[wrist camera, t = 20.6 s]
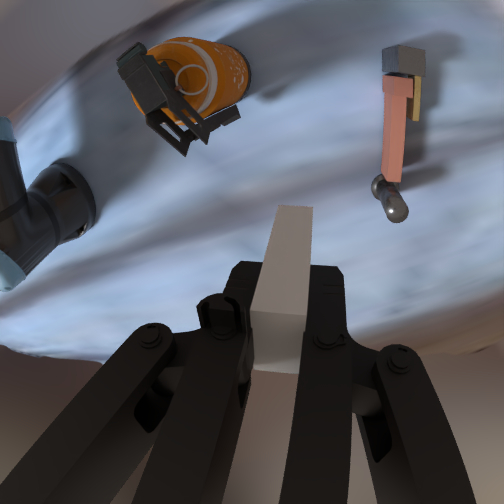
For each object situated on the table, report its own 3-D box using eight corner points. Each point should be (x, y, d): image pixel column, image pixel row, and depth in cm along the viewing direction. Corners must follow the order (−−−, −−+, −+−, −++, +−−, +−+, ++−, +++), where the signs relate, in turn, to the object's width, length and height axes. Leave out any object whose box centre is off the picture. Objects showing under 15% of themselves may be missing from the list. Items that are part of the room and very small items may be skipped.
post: (369, 199, 41) (379, 226, 34) (372, 172, 39) (384, 195, 32) (396, 201, 40) (409, 228, 34) (400, 175, 38) (415, 198, 32)
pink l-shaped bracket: (379, 170, 38) (388, 186, 33) (382, 75, 31) (394, 76, 26) (394, 171, 38) (405, 187, 33) (399, 77, 31) (412, 79, 26)
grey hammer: (381, 111, 34) (396, 122, 28) (382, 49, 29) (398, 45, 23) (408, 115, 33) (428, 127, 27) (410, 54, 29) (432, 52, 22)
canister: (231, 32, 32) (159, 8, 15) (272, 102, 36) (235, 131, 20) (175, 67, 35) (78, 79, 19) (214, 132, 40) (142, 185, 24)
